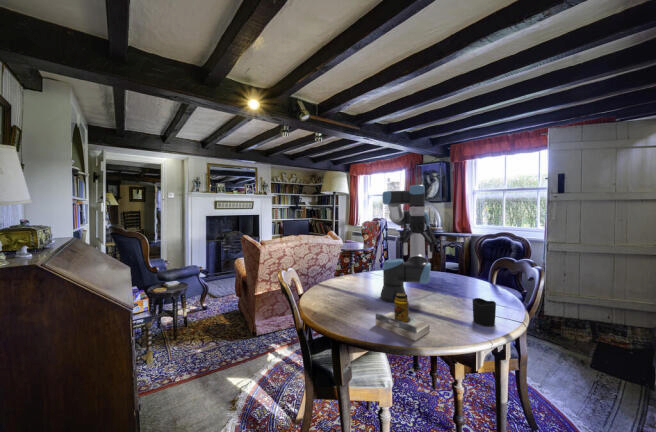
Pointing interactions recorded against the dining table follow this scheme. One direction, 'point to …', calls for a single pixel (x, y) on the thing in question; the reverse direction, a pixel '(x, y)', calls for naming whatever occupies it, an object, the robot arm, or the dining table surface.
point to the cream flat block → (402, 326)
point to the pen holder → (484, 312)
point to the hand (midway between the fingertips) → (417, 256)
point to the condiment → (401, 308)
